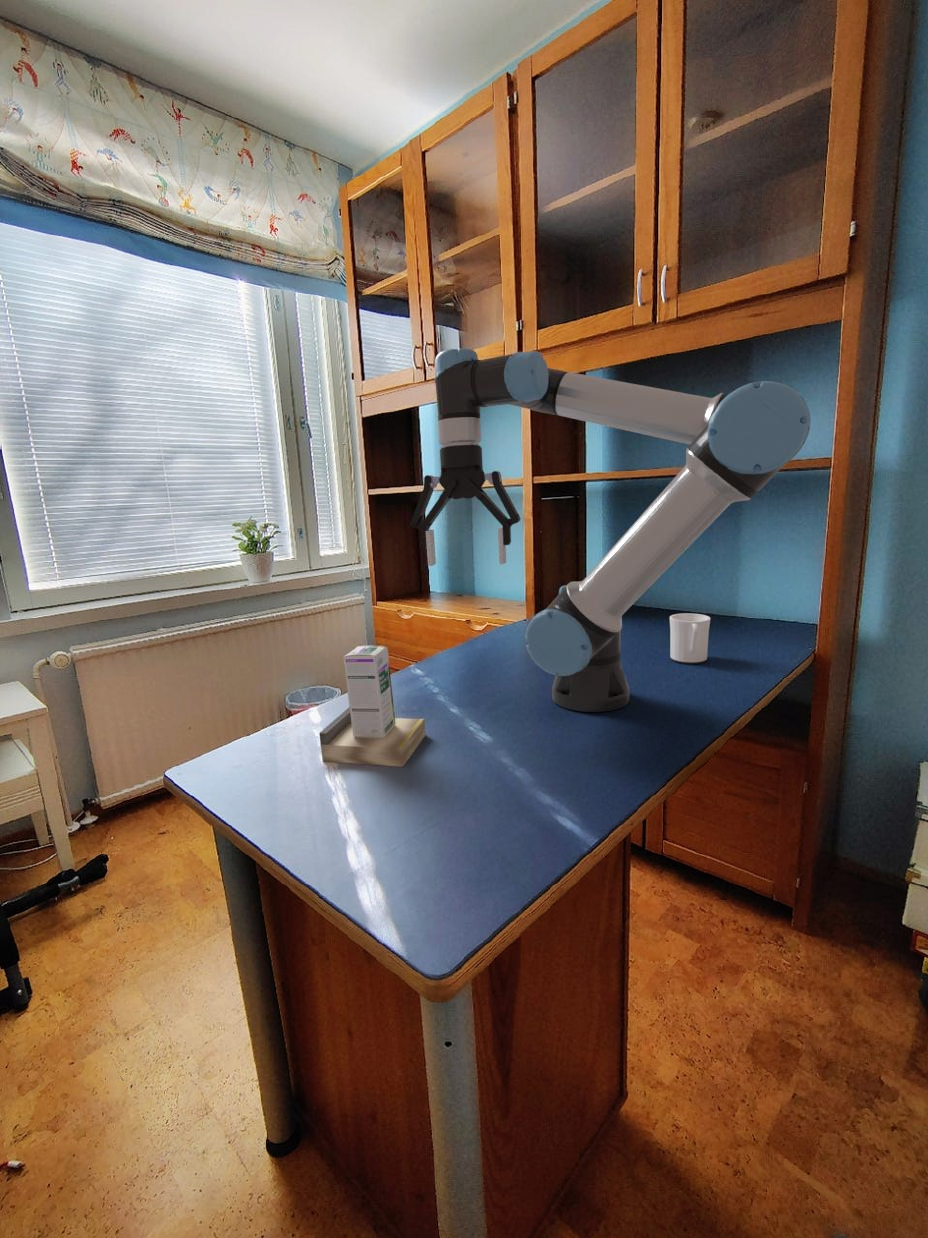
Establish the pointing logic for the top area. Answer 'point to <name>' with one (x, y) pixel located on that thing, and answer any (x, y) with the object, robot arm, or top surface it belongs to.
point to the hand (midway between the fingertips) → (466, 564)
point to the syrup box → (369, 691)
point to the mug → (689, 638)
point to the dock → (371, 742)
